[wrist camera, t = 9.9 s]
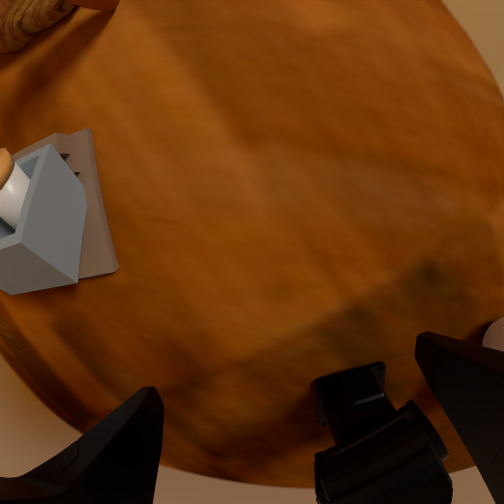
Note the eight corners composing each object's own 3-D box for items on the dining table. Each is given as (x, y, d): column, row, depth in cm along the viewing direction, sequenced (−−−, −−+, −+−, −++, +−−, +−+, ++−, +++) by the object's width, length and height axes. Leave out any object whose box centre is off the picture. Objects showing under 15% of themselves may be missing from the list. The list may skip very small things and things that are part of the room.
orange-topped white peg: (58, 243, 17) (-7, 182, 11) (27, 252, 17) (-35, 199, 11) (66, 204, 18) (13, 140, 12) (36, 214, 18) (-17, 159, 12)
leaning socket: (119, 268, 20) (59, 320, 12) (37, 284, 21) (-27, 327, 12) (92, 129, 18) (16, 111, 9) (11, 166, 18) (-63, 171, 9)
